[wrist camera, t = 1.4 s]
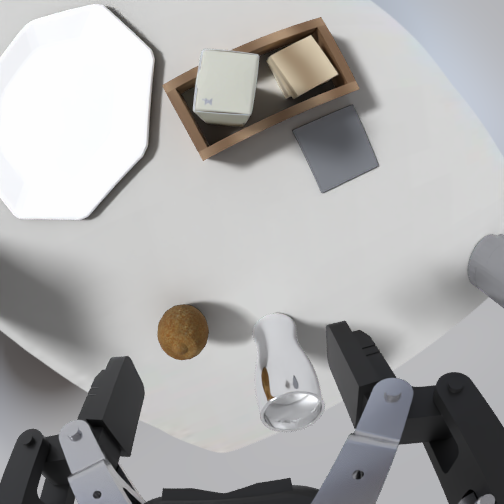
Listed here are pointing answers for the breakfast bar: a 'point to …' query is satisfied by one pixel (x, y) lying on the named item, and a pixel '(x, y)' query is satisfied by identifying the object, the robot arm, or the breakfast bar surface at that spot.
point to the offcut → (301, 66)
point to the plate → (71, 112)
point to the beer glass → (284, 376)
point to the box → (225, 87)
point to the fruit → (183, 332)
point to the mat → (336, 148)
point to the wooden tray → (260, 46)
